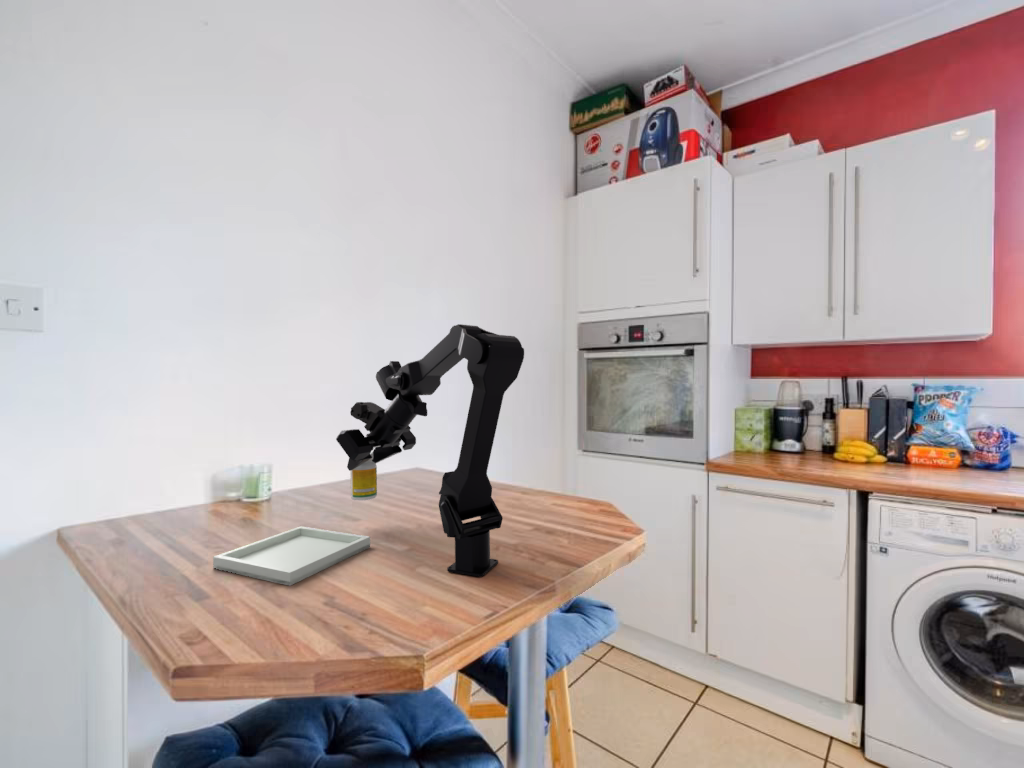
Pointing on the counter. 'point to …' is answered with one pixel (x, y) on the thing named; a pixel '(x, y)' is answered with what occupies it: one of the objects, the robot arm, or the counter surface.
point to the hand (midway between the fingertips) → (358, 466)
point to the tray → (291, 554)
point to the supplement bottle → (364, 481)
